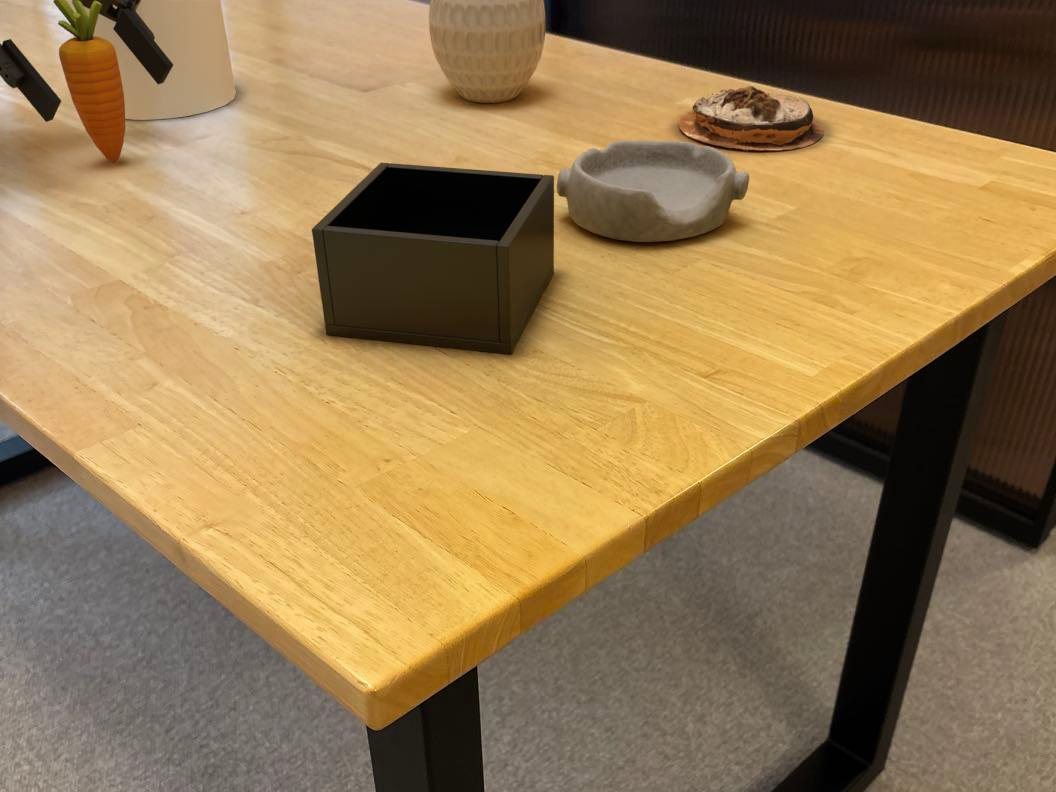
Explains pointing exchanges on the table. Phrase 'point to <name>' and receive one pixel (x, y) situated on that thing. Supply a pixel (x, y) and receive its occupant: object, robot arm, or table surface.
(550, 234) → the black open box
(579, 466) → the table surface
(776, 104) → the cake
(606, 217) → the dish
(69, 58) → the carrot
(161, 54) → the robot arm
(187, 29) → the canister
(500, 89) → the vase
